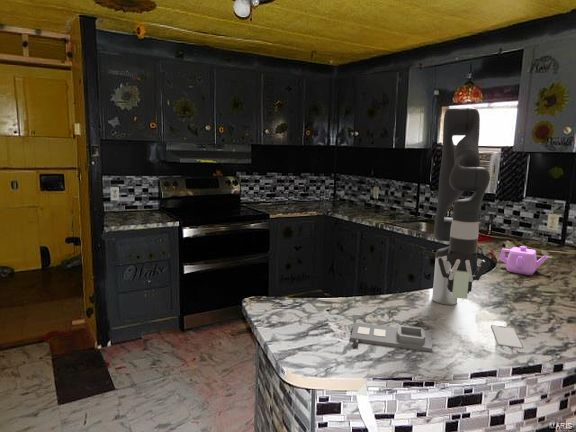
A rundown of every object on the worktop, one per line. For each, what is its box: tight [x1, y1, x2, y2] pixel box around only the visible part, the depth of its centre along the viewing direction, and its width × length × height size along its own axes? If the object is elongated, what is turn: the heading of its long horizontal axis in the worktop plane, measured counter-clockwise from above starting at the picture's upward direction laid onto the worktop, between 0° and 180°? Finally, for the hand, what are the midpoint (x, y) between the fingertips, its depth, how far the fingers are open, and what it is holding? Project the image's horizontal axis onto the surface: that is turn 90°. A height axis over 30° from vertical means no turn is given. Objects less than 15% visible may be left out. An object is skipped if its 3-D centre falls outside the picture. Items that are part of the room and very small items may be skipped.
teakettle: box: [499, 245, 549, 276], centre depth 210 cm, size 17×17×12 cm
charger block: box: [451, 269, 469, 300], centre depth 125 cm, size 4×4×8 cm
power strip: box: [350, 322, 433, 353], centre depth 130 cm, size 16×24×3 cm, turn 76°
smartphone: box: [490, 324, 525, 349], centre depth 135 cm, size 7×1×15 cm
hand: (458, 291), depth 125 cm, fingers closed on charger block, 4 cm apart
